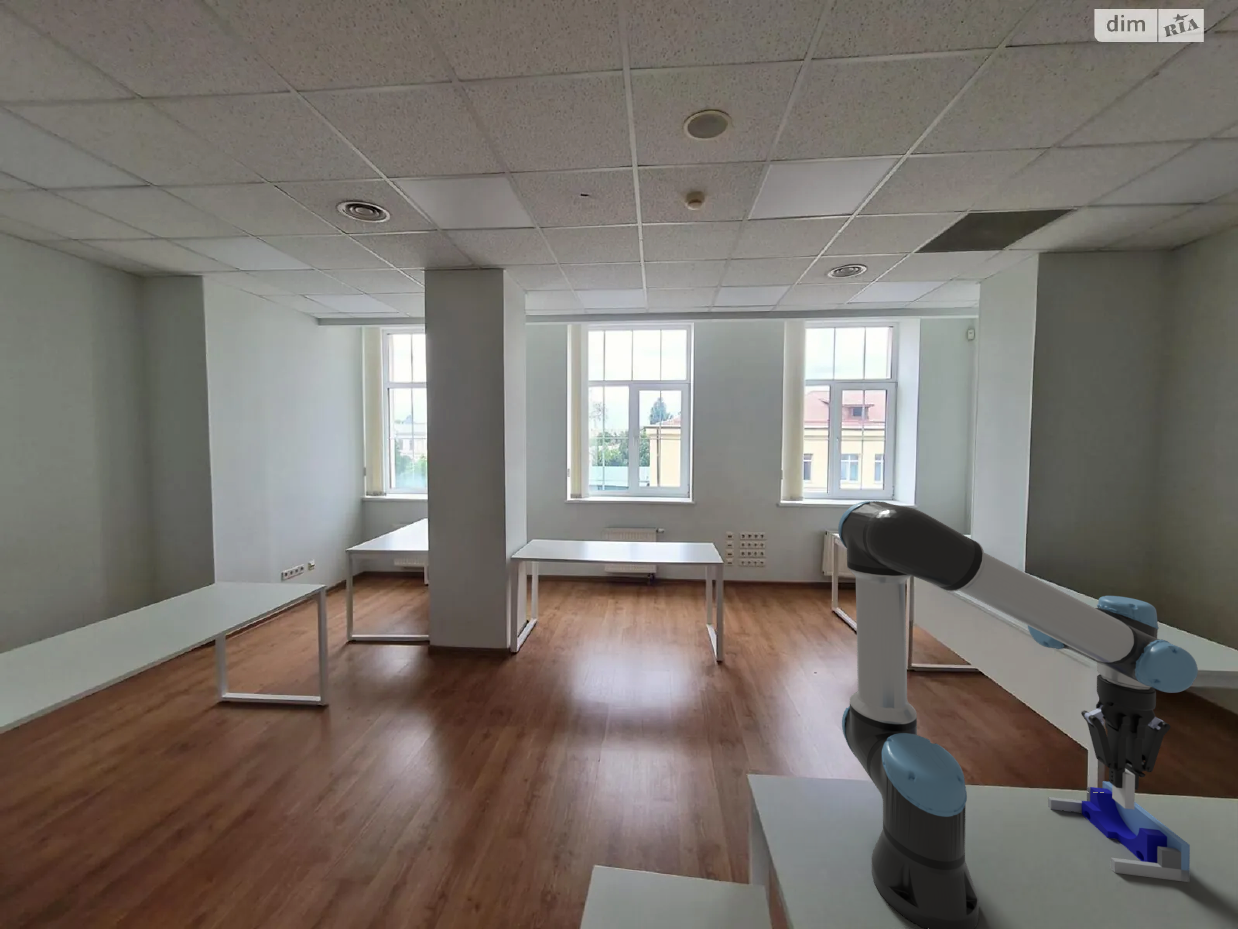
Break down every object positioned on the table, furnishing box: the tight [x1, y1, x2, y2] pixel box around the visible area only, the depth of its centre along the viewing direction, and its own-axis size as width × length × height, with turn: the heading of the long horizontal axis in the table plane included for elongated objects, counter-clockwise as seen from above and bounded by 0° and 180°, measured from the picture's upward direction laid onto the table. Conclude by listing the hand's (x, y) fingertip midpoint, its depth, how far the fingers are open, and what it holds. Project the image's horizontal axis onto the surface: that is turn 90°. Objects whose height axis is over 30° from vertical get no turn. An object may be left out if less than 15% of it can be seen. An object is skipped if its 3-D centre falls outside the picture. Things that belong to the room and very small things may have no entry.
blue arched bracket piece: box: [1081, 786, 1167, 863], centre depth 88 cm, size 12×4×6 cm, turn 170°
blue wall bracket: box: [1047, 780, 1191, 883], centre depth 87 cm, size 11×16×6 cm
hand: (1123, 803), depth 87 cm, fingers closed
